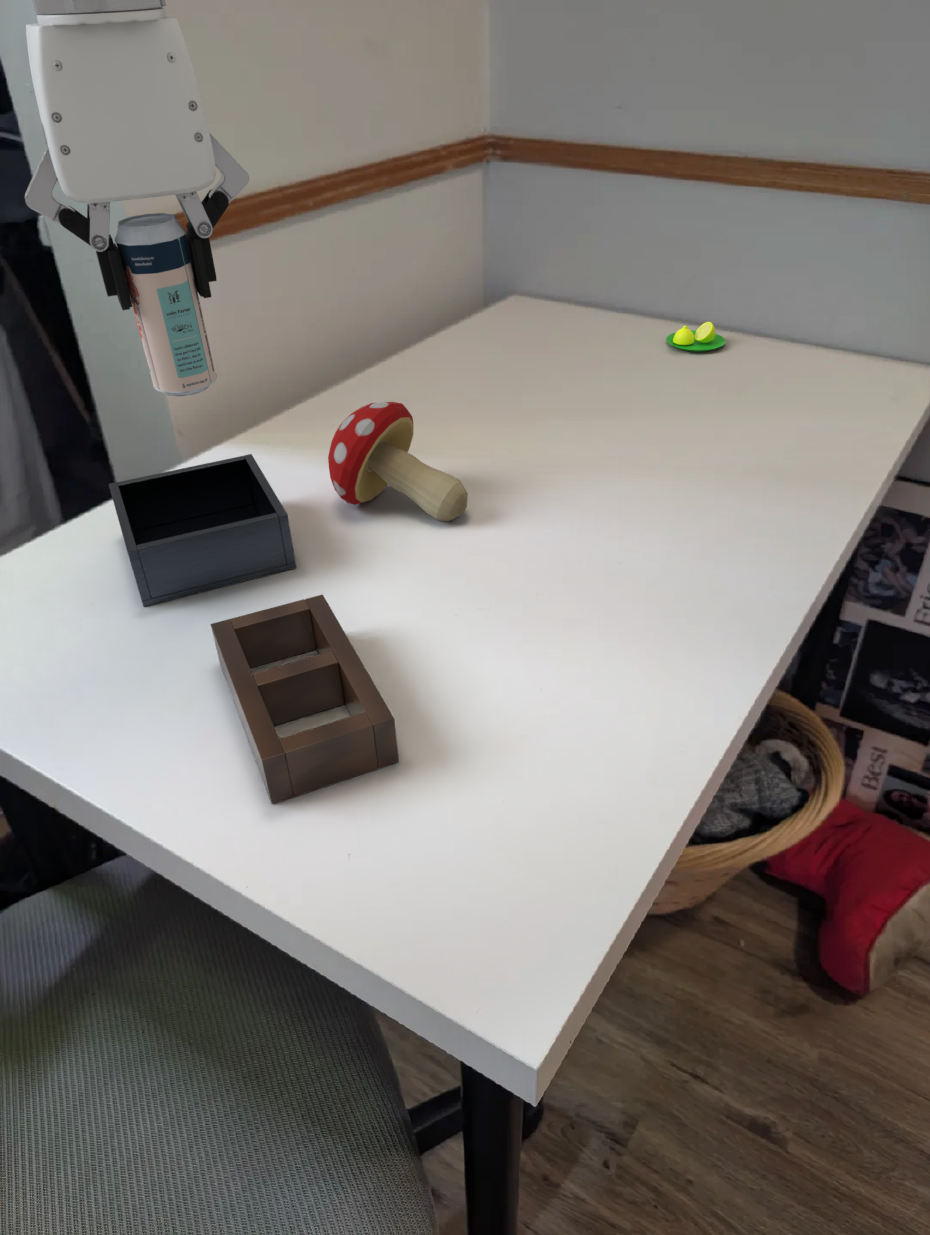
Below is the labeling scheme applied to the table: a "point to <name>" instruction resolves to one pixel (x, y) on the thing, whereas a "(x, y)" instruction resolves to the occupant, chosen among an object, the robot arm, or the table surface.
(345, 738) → the rack
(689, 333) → the lemon
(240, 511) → the dark grey open box
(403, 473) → the decorative mushroom
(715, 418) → the table surface
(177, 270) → the beer can
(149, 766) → the table surface
